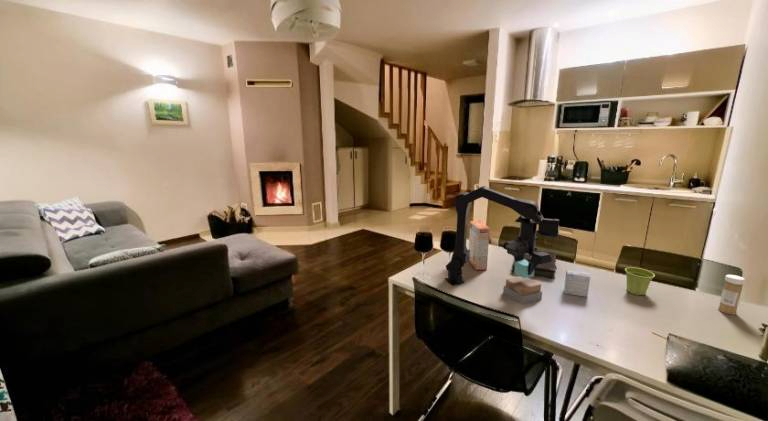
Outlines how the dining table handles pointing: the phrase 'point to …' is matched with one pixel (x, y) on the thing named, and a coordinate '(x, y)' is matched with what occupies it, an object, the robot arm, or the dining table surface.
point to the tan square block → (523, 285)
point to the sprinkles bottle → (731, 294)
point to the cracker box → (478, 245)
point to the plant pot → (638, 280)
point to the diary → (543, 266)
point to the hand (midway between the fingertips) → (524, 272)
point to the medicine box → (577, 283)
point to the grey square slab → (521, 298)
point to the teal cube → (522, 268)
